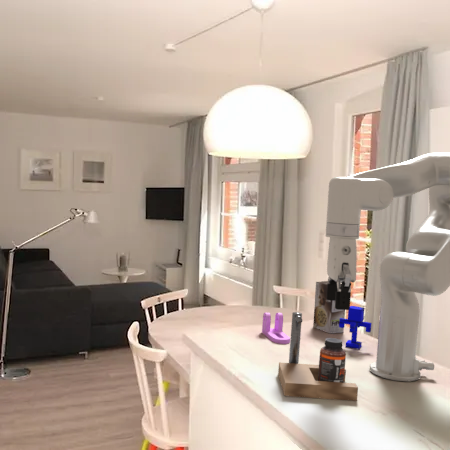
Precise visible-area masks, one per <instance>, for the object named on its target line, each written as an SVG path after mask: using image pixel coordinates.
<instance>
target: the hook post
mask: <svg viewBox="0 0 450 450" xmlns="http://www.w3.org/2000/svg"><path fill="white" fill-rule="evenodd" d="M291 314H292V316H291V329H290V343H289V356H288V363H296V364H299V361H300V345H301V336H302V333H301V332H302V323H303V313H302V312H298V311H294V312H293V311H292V313H291Z"/></svg>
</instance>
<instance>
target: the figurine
mask: <svg viewBox="0 0 450 450" xmlns="http://www.w3.org/2000/svg"><path fill="white" fill-rule="evenodd" d="M364 318H365V307H364V306H363V307H362V306H356V305H350V309H349V310H347V318H345V319H344V318H340V322H339V327H340V328H345V325H349V333H351V339H347V341H346V342H345V348H349V349H355V350H360V349H361V347H362V343H363V342H362V341H358V340H357V339H358V328H361V327H362V328H365V332H366V333H371V331H372V322H368V321H364Z"/></svg>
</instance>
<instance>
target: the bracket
mask: <svg viewBox="0 0 450 450" xmlns="http://www.w3.org/2000/svg"><path fill="white" fill-rule="evenodd" d="M271 318H272V317H271V313H270V312H264V313H263V315H262V325H261V326H262V327H261V334H263V335H264V336H265V337H267V338H268V339H269V340H270V341H271V342H272V343H275V344H279V345H284V344H285V345H286V344H287V345H288V344H290V340H291V336H289V335H287V334H286V333H285V332H283V327H284V315H283V312H276V313H275V317H274V327H273V328H272V327H271V321H272V319H271Z"/></svg>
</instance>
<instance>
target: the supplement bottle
mask: <svg viewBox="0 0 450 450" xmlns="http://www.w3.org/2000/svg"><path fill="white" fill-rule="evenodd" d="M346 354H347V353H346V351H345V349H343V340H342V339H339V338H335V337H334V338H333V337H326V338H325V339H324V346H323V347H321V348H320V351H319V359H318V365H319V371H318V380H317V381H326V382H342V383H345V382H344V371H345V369H346V358H347V355H346Z"/></svg>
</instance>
